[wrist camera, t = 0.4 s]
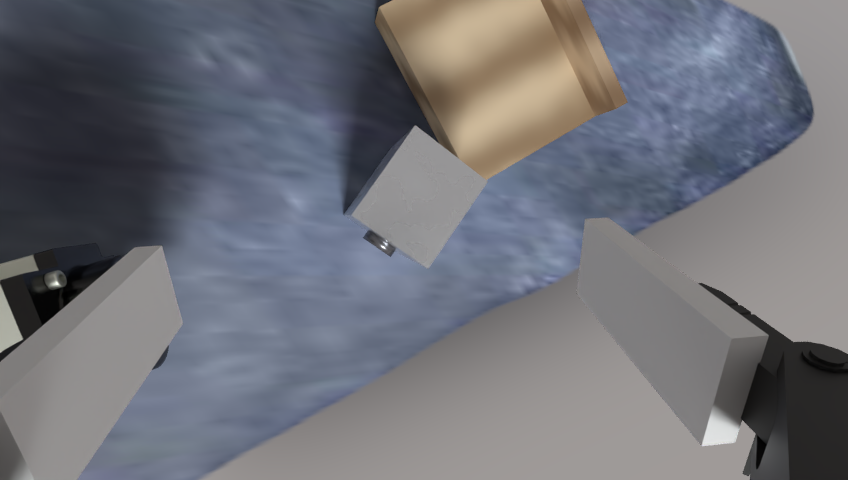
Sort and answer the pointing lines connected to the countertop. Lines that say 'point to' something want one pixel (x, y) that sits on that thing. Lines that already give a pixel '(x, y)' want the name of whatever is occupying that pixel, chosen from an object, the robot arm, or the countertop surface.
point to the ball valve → (47, 288)
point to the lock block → (415, 198)
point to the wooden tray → (500, 73)
